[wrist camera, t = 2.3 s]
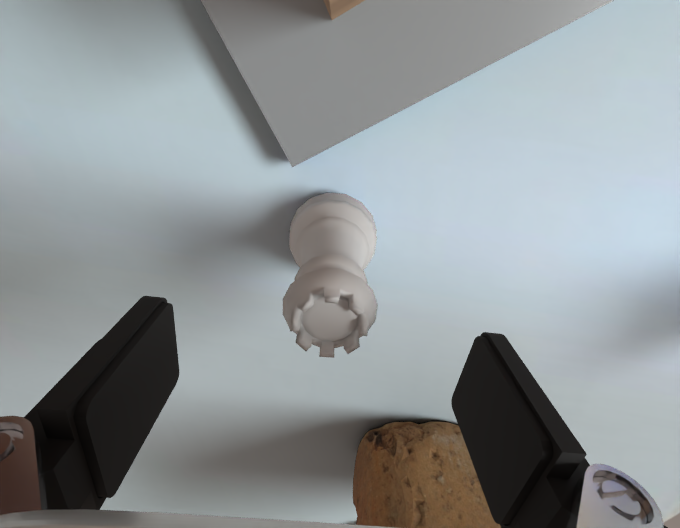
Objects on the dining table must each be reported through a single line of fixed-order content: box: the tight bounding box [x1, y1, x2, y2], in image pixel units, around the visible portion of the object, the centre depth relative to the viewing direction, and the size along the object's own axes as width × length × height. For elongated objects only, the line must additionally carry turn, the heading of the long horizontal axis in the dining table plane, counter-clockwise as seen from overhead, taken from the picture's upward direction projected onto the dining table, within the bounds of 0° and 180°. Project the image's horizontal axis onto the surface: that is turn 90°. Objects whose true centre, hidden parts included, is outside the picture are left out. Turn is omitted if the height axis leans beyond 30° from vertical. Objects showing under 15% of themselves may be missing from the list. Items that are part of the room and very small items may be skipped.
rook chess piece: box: [283, 193, 378, 357], centre depth 14 cm, size 4×4×8 cm
